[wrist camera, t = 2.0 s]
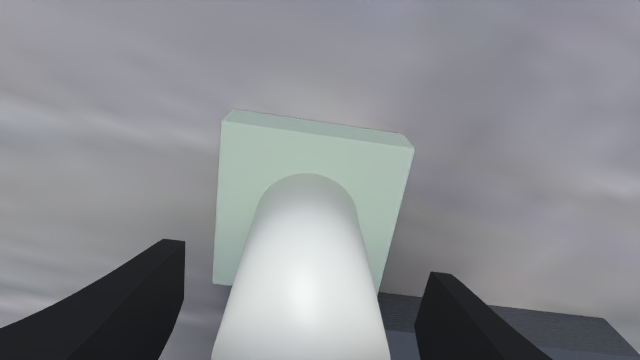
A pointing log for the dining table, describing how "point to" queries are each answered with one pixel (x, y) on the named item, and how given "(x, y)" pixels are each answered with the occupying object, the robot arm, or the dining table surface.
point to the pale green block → (306, 157)
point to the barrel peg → (303, 280)
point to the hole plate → (537, 327)
